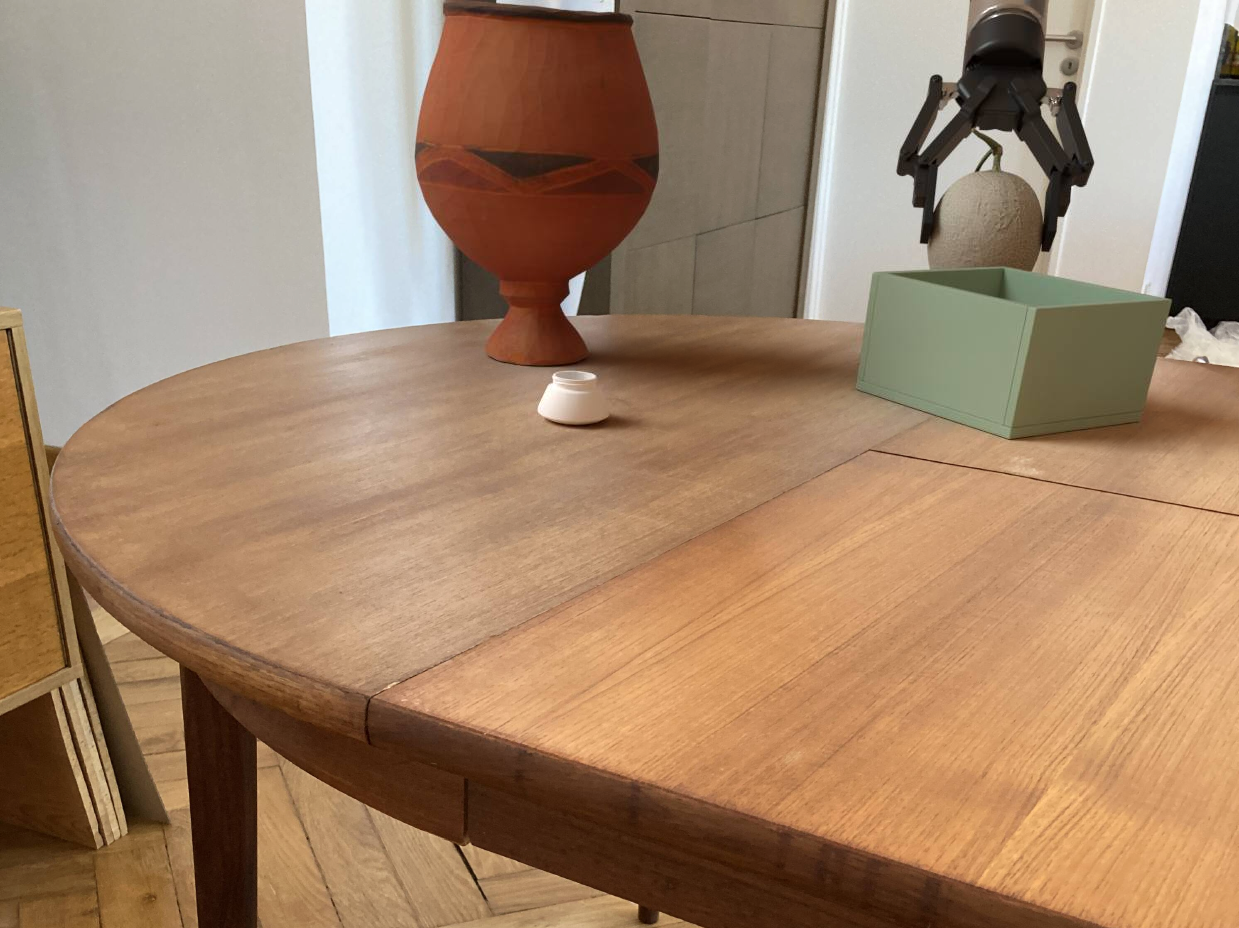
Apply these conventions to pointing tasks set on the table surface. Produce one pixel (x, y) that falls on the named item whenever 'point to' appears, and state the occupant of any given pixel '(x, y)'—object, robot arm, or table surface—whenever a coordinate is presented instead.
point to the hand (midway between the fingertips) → (986, 237)
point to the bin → (1010, 348)
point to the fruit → (986, 220)
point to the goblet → (536, 156)
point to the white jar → (574, 399)
